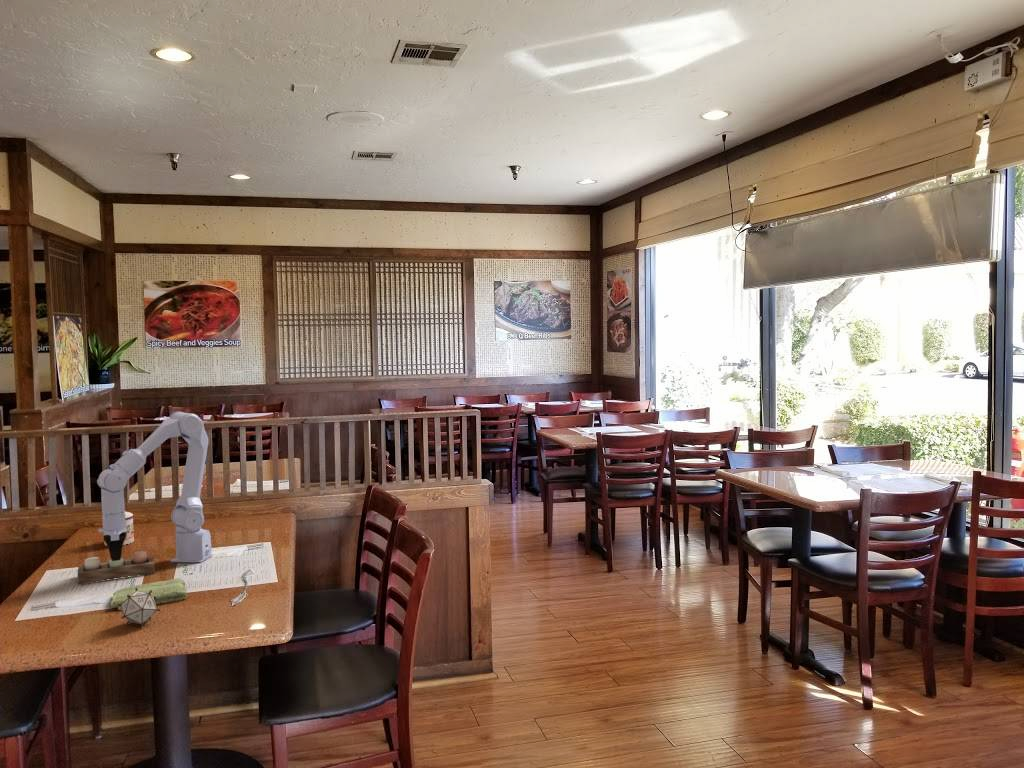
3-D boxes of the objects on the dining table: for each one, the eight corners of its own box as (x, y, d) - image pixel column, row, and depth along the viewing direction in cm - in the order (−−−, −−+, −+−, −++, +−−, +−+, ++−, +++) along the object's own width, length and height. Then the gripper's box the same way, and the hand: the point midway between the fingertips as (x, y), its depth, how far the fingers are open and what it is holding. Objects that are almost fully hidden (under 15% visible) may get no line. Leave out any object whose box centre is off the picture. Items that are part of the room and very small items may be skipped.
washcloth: (111, 598, 205) (111, 585, 204) (185, 587, 212) (184, 575, 212) (110, 614, 193) (110, 601, 193) (188, 602, 201) (188, 589, 200)
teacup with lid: (130, 546, 252) (128, 510, 251) (99, 548, 250) (97, 511, 249) (140, 536, 264) (138, 501, 263) (110, 538, 262) (108, 503, 261)
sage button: (123, 565, 225) (123, 557, 224) (123, 569, 221) (123, 560, 221) (109, 567, 223) (109, 559, 223) (109, 571, 220) (109, 562, 220)
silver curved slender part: (228, 609, 195) (248, 606, 196) (227, 606, 195) (248, 604, 196) (237, 570, 226) (255, 569, 227) (237, 568, 226) (255, 566, 227)
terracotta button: (146, 558, 227) (146, 550, 227) (147, 562, 224) (146, 553, 224) (132, 560, 226) (132, 552, 225) (133, 563, 222) (132, 555, 222)
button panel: (153, 566, 230) (152, 556, 230) (154, 573, 223) (154, 563, 223) (79, 576, 222) (78, 565, 221) (78, 584, 214) (77, 573, 214)
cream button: (99, 565, 222) (99, 556, 222) (99, 568, 219) (99, 559, 218) (85, 567, 220) (84, 558, 220) (84, 570, 217) (84, 561, 217)
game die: (135, 637, 186) (129, 597, 191) (169, 623, 187) (162, 584, 191) (114, 632, 178) (107, 590, 183) (149, 617, 179) (142, 576, 183)
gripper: (97, 508, 226) (100, 555, 227) (97, 519, 213) (99, 568, 214) (125, 505, 229) (127, 551, 230) (126, 516, 216) (128, 565, 217)
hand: (116, 559), depth 222 cm, fingers closed, pressing on sage button
